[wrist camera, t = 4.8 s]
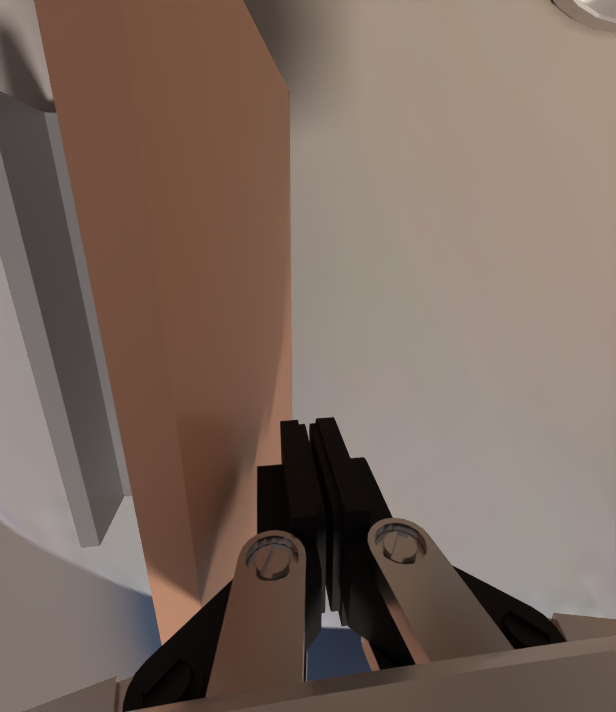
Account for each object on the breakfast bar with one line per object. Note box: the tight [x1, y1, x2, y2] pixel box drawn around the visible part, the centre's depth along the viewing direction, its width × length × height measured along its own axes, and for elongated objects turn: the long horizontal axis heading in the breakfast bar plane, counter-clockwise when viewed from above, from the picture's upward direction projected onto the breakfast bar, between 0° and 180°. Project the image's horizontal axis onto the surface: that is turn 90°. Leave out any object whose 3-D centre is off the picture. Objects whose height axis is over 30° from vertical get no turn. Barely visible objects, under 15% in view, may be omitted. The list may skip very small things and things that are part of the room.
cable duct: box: [0, 91, 132, 547], centre depth 20 cm, size 22×11×5 cm, turn 0°
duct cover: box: [34, 0, 292, 645], centre depth 12 cm, size 22×12×1 cm
